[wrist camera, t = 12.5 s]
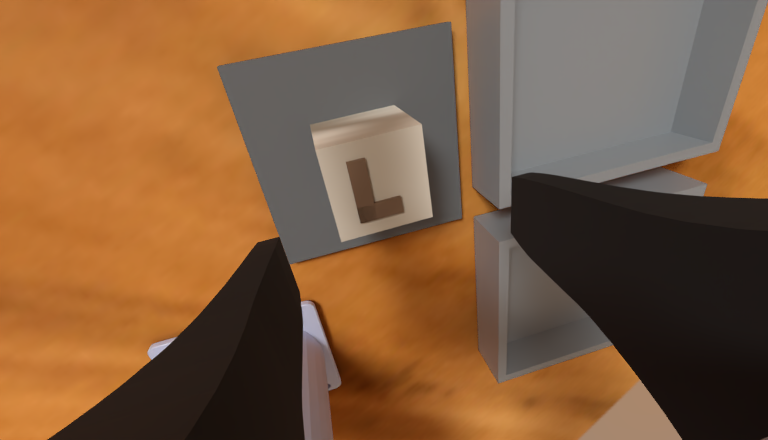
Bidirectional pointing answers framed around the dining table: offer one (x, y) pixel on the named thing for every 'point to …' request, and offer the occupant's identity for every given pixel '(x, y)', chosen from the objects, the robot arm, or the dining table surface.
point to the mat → (335, 100)
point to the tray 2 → (539, 292)
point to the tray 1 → (600, 85)
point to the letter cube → (373, 170)
